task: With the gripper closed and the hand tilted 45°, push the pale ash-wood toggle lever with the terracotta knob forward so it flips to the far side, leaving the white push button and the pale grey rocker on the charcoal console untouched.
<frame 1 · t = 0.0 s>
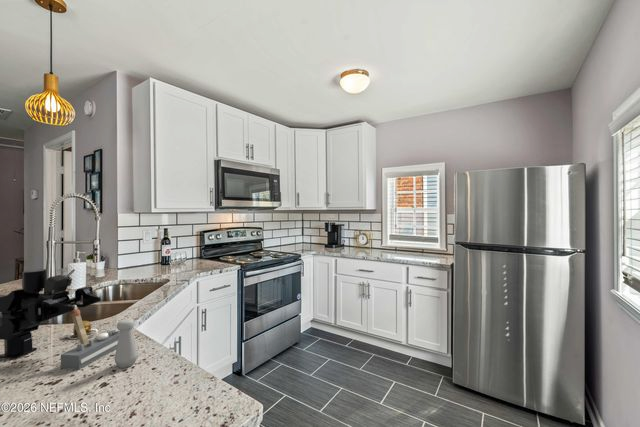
hand: (87, 303, 94), 17 cm above the counter, tool horizontal, fingers open, 9 cm apart
white button: (102, 336, 98), point 5 cm above the counter, slide at 0.0 cm
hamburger: (83, 336, 113), on the counter
console: (97, 354, 96), on the counter
salt shaker: (126, 365, 89), on the counter
grey rocker: (113, 330, 102), point 5 cm above the counter, hinge at -12.0°
ash lever: (79, 327, 92), point 10 cm above the counter, hinge at -19.0°
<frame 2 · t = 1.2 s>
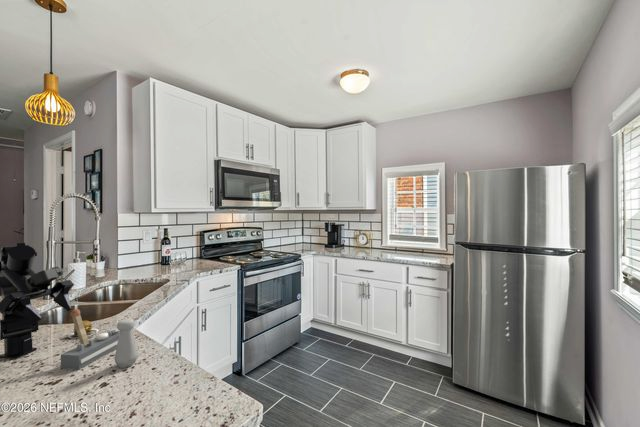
hand: (56, 314, 93), 14 cm above the counter, tool tilted 45°, fingers open, 9 cm apart
nothing on the counter moved.
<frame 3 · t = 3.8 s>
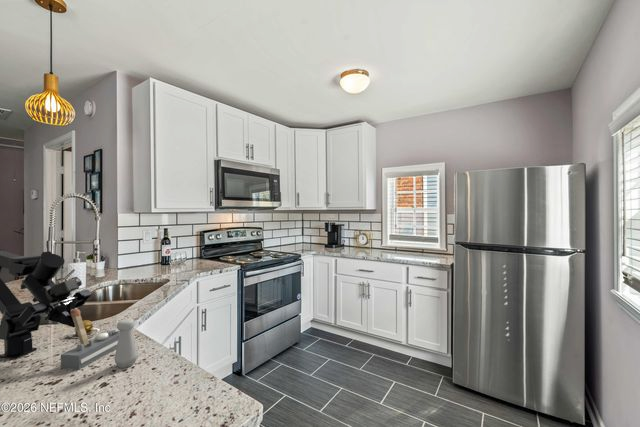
hand: (76, 325, 92), 10 cm above the counter, tool tilted 45°, fingers closed, pressing on ash lever
ash lever: (79, 327, 92), point 10 cm above the counter, hinge at -18.7°, touching gripper
everything else where it was.
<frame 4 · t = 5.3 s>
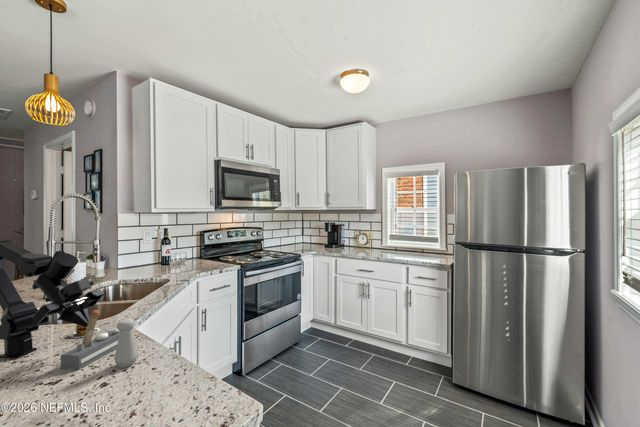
hand: (89, 325, 92), 11 cm above the counter, tool tilted 45°, fingers closed, pressing on ash lever
ash lever: (90, 327, 92), point 10 cm above the counter, hinge at 20.3°, touching gripper
everything else where it was.
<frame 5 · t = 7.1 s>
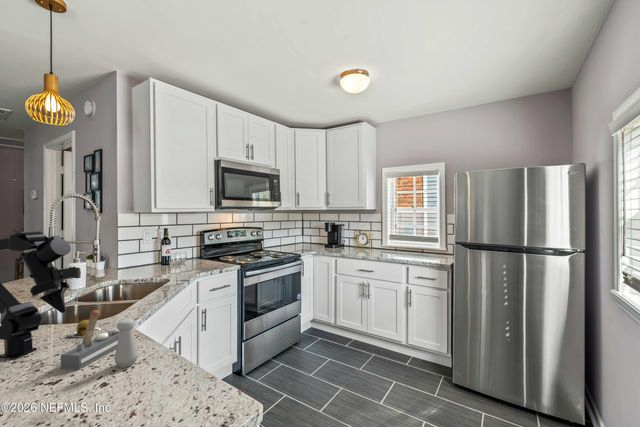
hand: (64, 312, 96), 13 cm above the counter, tool tilted 25°, fingers closed
ash lever: (90, 327, 92), point 10 cm above the counter, hinge at 20.3°
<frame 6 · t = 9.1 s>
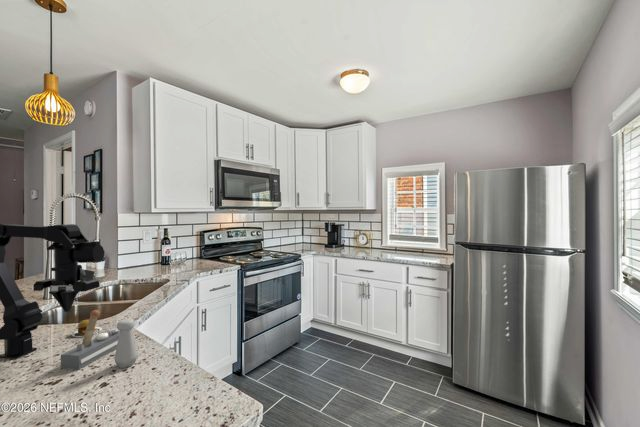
hand: (67, 311, 98), 13 cm above the counter, tool pointing down, fingers closed
at the end: ash lever at +20° (first picture: -19°); grey rocker at -12° (first picture: -12°); white button slide at 0.0 cm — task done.
